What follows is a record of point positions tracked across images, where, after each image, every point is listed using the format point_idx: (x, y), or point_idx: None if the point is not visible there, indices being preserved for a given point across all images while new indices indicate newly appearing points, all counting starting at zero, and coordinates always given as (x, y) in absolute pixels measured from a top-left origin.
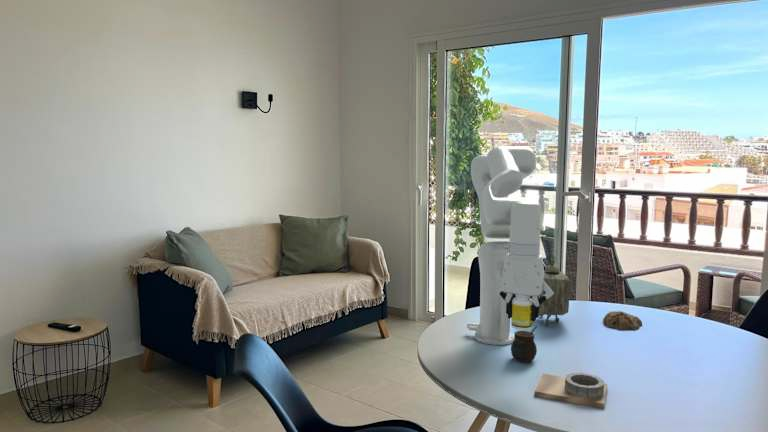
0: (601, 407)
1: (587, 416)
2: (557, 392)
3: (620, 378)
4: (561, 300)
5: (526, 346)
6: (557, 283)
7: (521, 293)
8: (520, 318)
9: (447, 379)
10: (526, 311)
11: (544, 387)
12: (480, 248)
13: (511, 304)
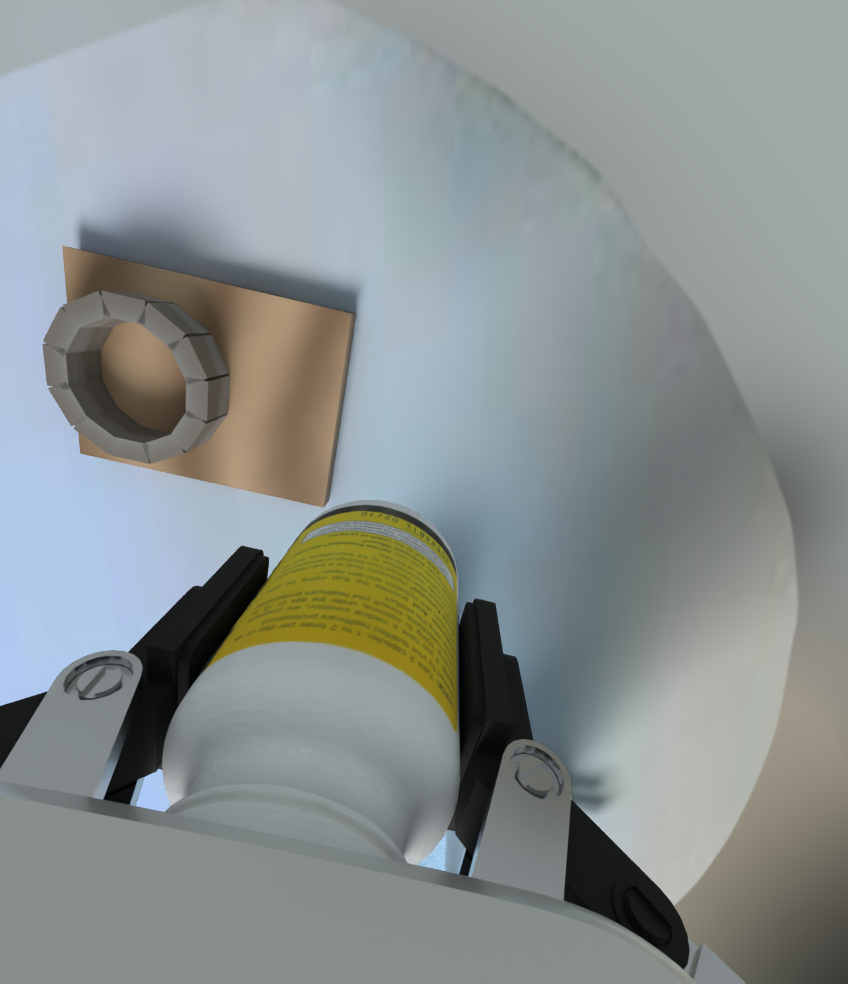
0: (88, 251)
1: (132, 143)
2: (256, 322)
3: (64, 545)
4: None
5: None
6: None
7: (247, 859)
8: (370, 547)
9: (726, 410)
10: (284, 596)
11: (311, 365)
12: None
13: (467, 727)
